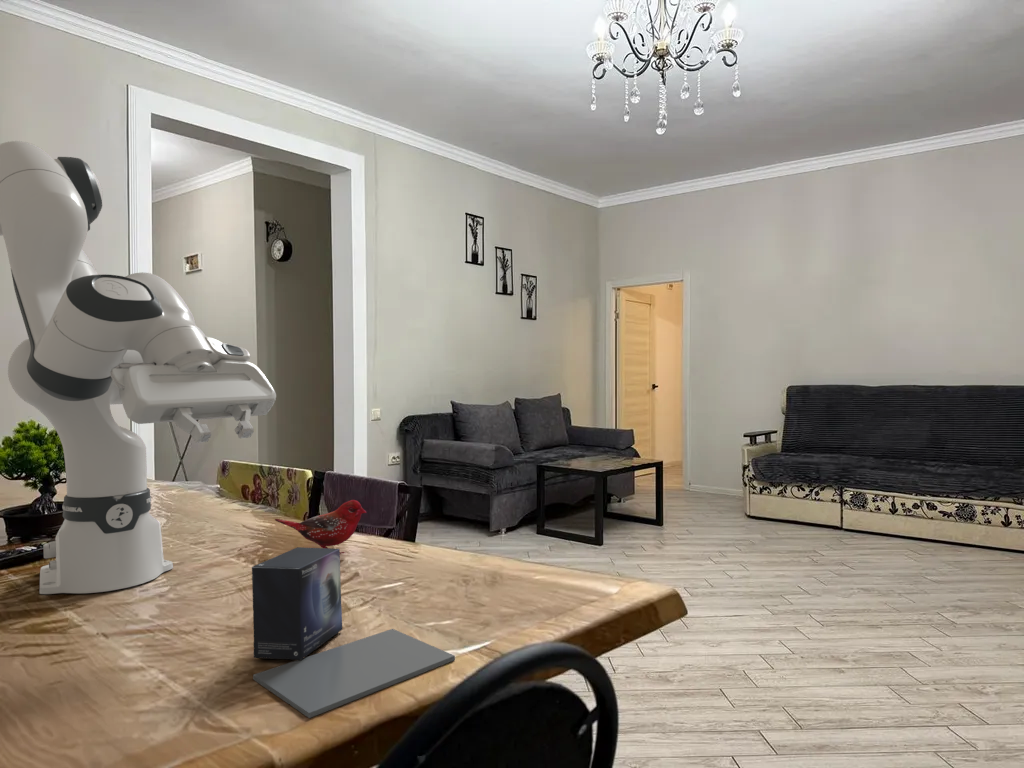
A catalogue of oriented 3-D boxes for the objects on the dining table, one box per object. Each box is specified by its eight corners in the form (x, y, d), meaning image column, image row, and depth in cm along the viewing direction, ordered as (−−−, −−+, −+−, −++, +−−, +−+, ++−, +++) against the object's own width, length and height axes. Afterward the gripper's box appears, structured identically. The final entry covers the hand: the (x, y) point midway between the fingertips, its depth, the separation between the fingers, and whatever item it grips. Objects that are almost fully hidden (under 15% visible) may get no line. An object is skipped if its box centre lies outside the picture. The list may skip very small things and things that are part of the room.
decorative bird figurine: (364, 558, 121) (363, 501, 121) (271, 555, 124) (270, 499, 124) (370, 554, 124) (369, 498, 124) (279, 550, 127) (278, 496, 127)
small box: (304, 661, 77) (300, 567, 77) (251, 660, 78) (247, 567, 78) (346, 629, 87) (342, 546, 87) (298, 628, 88) (295, 546, 89)
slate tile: (253, 679, 74) (253, 674, 74) (392, 632, 87) (392, 628, 87) (309, 718, 65) (309, 713, 65) (454, 660, 78) (454, 655, 78)
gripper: (113, 346, 87) (156, 426, 81) (256, 348, 103) (299, 415, 98) (97, 381, 89) (137, 462, 84) (239, 378, 106) (280, 445, 101)
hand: (226, 437), depth 91 cm, fingers open, 5 cm apart
